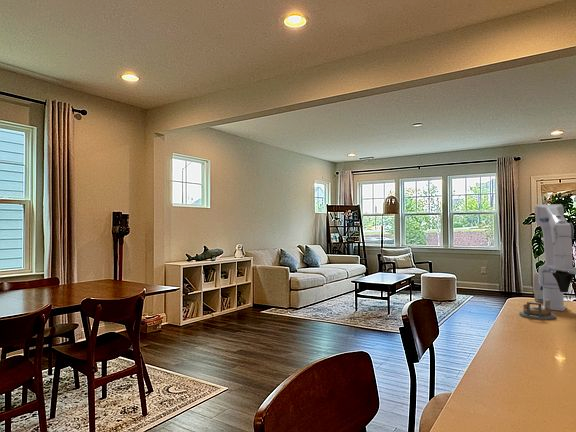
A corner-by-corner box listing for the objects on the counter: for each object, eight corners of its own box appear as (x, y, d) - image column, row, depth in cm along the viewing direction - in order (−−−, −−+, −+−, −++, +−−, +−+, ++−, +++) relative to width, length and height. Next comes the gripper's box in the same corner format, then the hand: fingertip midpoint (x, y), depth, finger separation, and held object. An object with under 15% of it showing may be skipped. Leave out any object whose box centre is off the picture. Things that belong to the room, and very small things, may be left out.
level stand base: (523, 311, 166) (522, 296, 167) (558, 315, 159) (557, 300, 159) (516, 316, 157) (515, 301, 157) (552, 321, 149) (552, 304, 150)
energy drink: (550, 302, 185) (550, 275, 185) (538, 302, 185) (538, 275, 185) (543, 299, 190) (542, 274, 190) (532, 300, 190) (531, 274, 191)
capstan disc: (526, 309, 164) (525, 296, 165) (553, 312, 158) (552, 299, 158) (521, 313, 158) (520, 300, 158) (549, 316, 151) (548, 303, 152)
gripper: (589, 256, 146) (590, 294, 146) (557, 253, 160) (558, 288, 160) (571, 257, 145) (572, 295, 145) (541, 254, 159) (542, 289, 159)
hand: (564, 291), depth 152 cm, fingers closed
